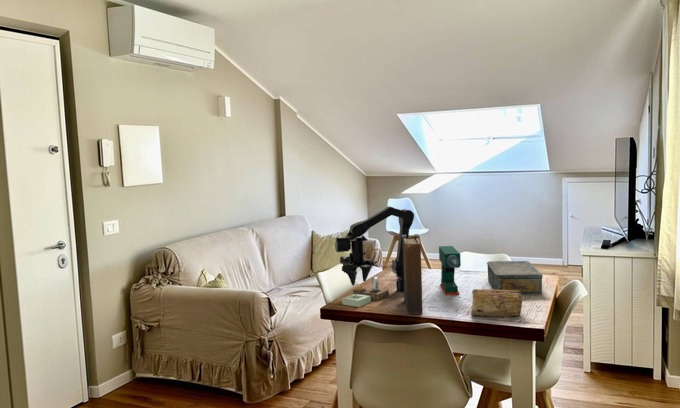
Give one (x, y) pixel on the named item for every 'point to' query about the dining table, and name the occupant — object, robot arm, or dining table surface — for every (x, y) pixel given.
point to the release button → (359, 288)
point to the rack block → (356, 300)
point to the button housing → (358, 291)
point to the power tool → (449, 269)
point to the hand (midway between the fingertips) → (358, 283)
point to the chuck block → (376, 294)
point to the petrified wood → (496, 302)
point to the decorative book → (412, 274)
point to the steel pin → (375, 284)
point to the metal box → (515, 276)
